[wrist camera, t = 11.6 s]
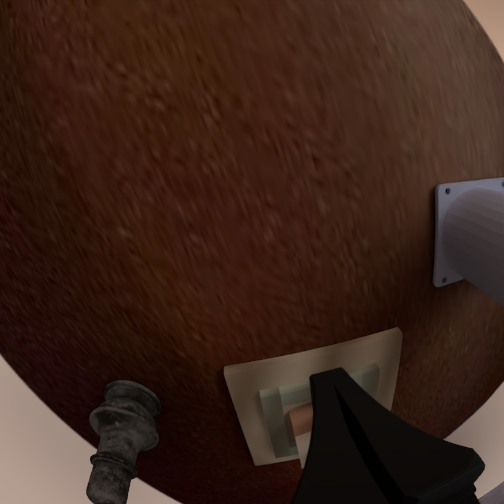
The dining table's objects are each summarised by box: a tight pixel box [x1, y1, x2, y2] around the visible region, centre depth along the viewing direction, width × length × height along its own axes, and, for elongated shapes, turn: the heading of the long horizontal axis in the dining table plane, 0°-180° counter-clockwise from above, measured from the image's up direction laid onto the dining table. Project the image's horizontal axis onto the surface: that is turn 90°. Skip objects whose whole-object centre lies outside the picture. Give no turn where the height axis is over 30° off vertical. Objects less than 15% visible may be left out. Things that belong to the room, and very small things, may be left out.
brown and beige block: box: [289, 401, 313, 468], centre depth 21 cm, size 4×4×6 cm
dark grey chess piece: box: [86, 380, 161, 504], centre depth 17 cm, size 6×6×12 cm
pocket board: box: [224, 327, 403, 466], centre depth 24 cm, size 14×14×2 cm
